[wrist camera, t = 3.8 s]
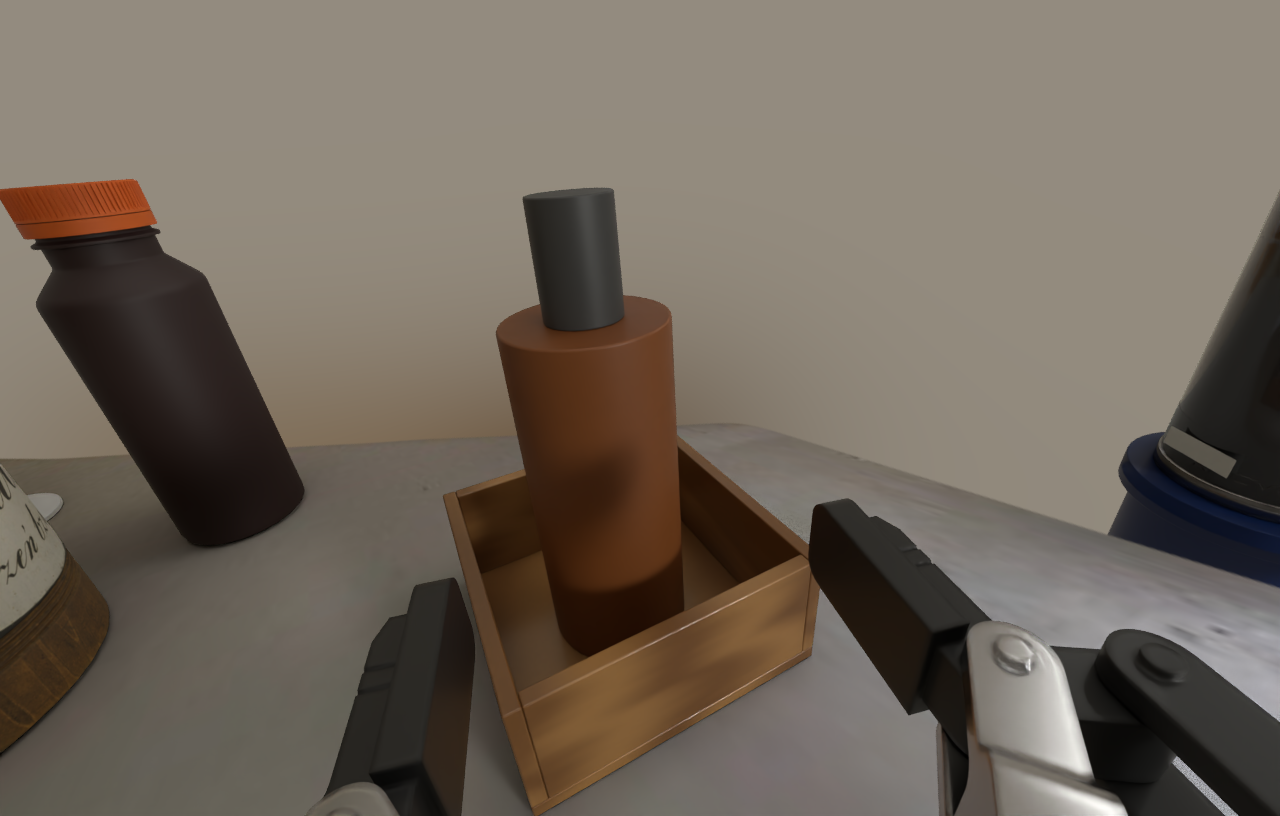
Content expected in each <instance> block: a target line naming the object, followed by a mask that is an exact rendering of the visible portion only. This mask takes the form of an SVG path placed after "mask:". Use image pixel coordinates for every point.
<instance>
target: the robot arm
mask: <svg viewBox="0 0 1280 816" xmlns="http://www.w3.org/2000/svg"><path fill="white" fill-rule="evenodd" d="M1260 232H1261V233H1260V234H1259V236H1258V238H1257V240H1256V242H1255V244H1254V247H1253V249H1252V251H1251V253H1250V255H1249V257H1248V259H1247V262H1246V264H1245V266H1244V268H1243V270H1242V272H1241V274H1240V276H1239V278H1238V281H1237V282H1236V285H1235V287H1234V289H1233V291H1232V293H1231V295H1230V298H1229V299H1228V302H1227V304H1226V306H1225V308H1224V310H1223V312H1222V314H1221V317H1220V319H1219V321H1218V323H1217V325H1216V327H1215V329H1214V331H1213V333H1212V336H1211V337H1210V340H1209V342H1208V344H1207V346H1206V348H1205V350H1204V352H1203V354H1202V357H1201V359H1200V361H1199V363H1198V365H1197V367H1196V369H1195V372H1194V374H1193V376H1192V378H1191V380H1190V382H1189V384H1188V386H1187V388H1186V390H1185V393H1184V395H1183V397H1182V399H1181V401H1180V402H1179V405H1178V407H1177V409H1176V411H1175V413H1174V415H1173V417H1172V419H1171V422H1170V424H1169V426H1168V428H1167V430H1166V432H1165V434H1164V435H1163V436H1162V437H1161V438H1160V440H1159V442H1158V444H1157V446H1156V448H1155V451H1154V453H1153V460H1154V462H1155V464H1156V465H1157V467H1158V468H1159V469H1160V470H1161V471H1162V472H1163V473H1164V474H1165V475H1166V476H1167V477H1169V478H1170V479H1171V480H1173V481H1174V482H1175V483H1177V484H1178V485H1180V486H1182V487H1183V488H1185V489H1187V490H1189V491H1190V492H1192V493H1194V494H1196V495H1198V496H1200V497H1202V498H1204V499H1207V500H1209V501H1211V502H1213V503H1216V504H1218V505H1221V506H1223V507H1226V508H1228V509H1231V510H1234V511H1237V512H1240V513H1243V514H1245V515H1249V516H1252V517H1255V518H1258V519H1262V520H1266V521H1269V522H1273V523H1277V524H1280V191H1279V193H1278V195H1277V197H1276V199H1275V201H1274V203H1273V206H1272V208H1271V210H1270V212H1269V214H1268V216H1267V218H1266V220H1265V222H1264V224H1263V227H1262V229H1261V231H1260ZM808 559H809V565H810V569H811V572H812V574H813V577H814V579H815V580H816V582H817V584H818V585H819V586H820V588H821V589H822V591H823V592H824V594H825V595H826V597H827V598H828V599H829V601H830V602H831V604H832V605H833V607H834V608H835V610H836V611H837V612H838V614H839V615H840V617H841V618H842V620H843V621H844V623H845V624H846V625H847V627H848V628H849V630H850V631H851V633H852V634H853V636H854V637H855V638H856V640H857V641H858V643H859V644H860V646H861V647H862V649H863V650H864V651H865V653H866V654H867V656H868V657H869V659H870V660H871V661H872V663H873V664H874V666H875V667H876V669H877V670H878V672H879V673H880V674H881V676H882V677H883V679H884V680H885V682H886V683H887V685H888V686H889V687H890V689H891V690H892V692H893V693H894V695H895V696H896V698H897V699H898V700H899V702H900V703H901V705H902V706H903V708H904V709H905V711H906V712H907V713H908V715H911V714H915V713H919V712H922V711H926V710H929V709H930V711H931V712H932V714H933V715H934V716H935V718H936V719H937V720H938V724H937V727H936V746H937V772H938V799H939V816H1225V815H1224V814H1223V813H1222V812H1221V811H1220V810H1219V809H1218V808H1217V807H1216V806H1215V805H1214V804H1213V803H1212V802H1211V801H1210V800H1209V799H1208V798H1207V797H1206V796H1205V795H1204V794H1203V793H1202V792H1201V791H1200V790H1199V789H1198V788H1197V787H1196V786H1195V785H1194V784H1192V783H1191V782H1190V781H1189V780H1188V779H1187V778H1186V777H1185V776H1184V775H1183V774H1182V773H1181V772H1180V771H1179V770H1178V769H1177V768H1176V767H1175V766H1174V765H1173V764H1172V762H1173V760H1174V759H1175V758H1176V756H1178V757H1179V758H1180V759H1181V760H1182V761H1183V762H1184V763H1185V764H1186V765H1187V766H1188V767H1189V768H1190V769H1191V770H1192V771H1193V772H1194V773H1195V774H1196V775H1197V776H1198V777H1199V778H1201V779H1202V780H1203V781H1204V782H1205V783H1206V784H1207V785H1208V786H1209V787H1210V788H1211V789H1212V790H1213V791H1214V792H1215V793H1216V794H1217V795H1218V796H1219V797H1220V798H1221V799H1222V800H1223V801H1224V802H1225V803H1226V804H1227V805H1228V806H1229V807H1230V808H1231V809H1232V810H1233V811H1234V812H1235V813H1236V814H1238V815H1239V816H1280V722H1279V721H1278V720H1276V719H1275V718H1274V717H1272V716H1271V715H1270V714H1269V713H1267V712H1266V711H1265V710H1264V709H1262V708H1261V707H1260V706H1259V705H1257V704H1256V703H1255V702H1253V701H1252V700H1251V699H1250V698H1248V697H1247V696H1246V695H1245V694H1243V693H1242V692H1241V691H1240V690H1238V689H1237V688H1236V687H1234V686H1233V685H1232V684H1231V683H1229V682H1228V681H1227V680H1226V679H1224V678H1223V677H1222V676H1221V675H1219V674H1218V673H1217V672H1215V671H1214V670H1213V669H1212V668H1210V667H1209V666H1208V665H1207V664H1205V663H1204V662H1203V661H1202V660H1200V659H1199V658H1198V657H1196V656H1195V655H1194V654H1192V653H1191V652H1190V651H1188V650H1186V649H1185V648H1183V647H1182V646H1180V645H1178V644H1176V643H1174V642H1172V641H1170V640H1168V639H1166V638H1163V637H1161V636H1158V635H1156V634H1153V633H1149V632H1145V631H1141V630H1135V629H1121V630H1117V631H1114V632H1112V633H1111V634H1109V636H1108V637H1107V638H1106V640H1105V642H1104V644H1103V646H1102V648H1101V649H1086V648H1071V647H1056V646H1048V645H1047V644H1046V643H1045V642H1044V641H1043V640H1041V639H1040V638H1039V637H1037V636H1036V635H1034V634H1032V633H1031V632H1029V631H1027V630H1025V629H1023V628H1021V627H1018V626H1016V625H1013V624H1009V623H1005V622H1000V621H992V620H991V619H990V618H989V617H988V616H987V615H986V614H985V613H984V612H983V611H982V610H981V609H980V608H979V607H978V606H977V605H976V604H975V603H974V602H973V601H972V600H971V599H970V598H969V597H968V596H967V595H966V594H965V593H964V592H963V591H962V590H961V589H960V588H958V587H957V586H956V585H955V584H954V583H953V582H952V581H951V580H950V579H949V578H948V577H947V576H946V575H945V574H944V573H943V572H942V571H941V570H940V569H939V568H938V567H937V566H936V565H935V564H932V563H931V560H930V559H929V558H928V557H927V556H926V555H925V554H924V553H923V552H922V551H921V550H920V549H919V550H918V549H917V547H916V545H915V544H914V543H913V542H912V541H911V540H910V539H909V538H908V537H907V536H906V535H905V534H904V533H903V532H902V531H901V530H900V529H898V528H897V527H895V526H893V525H891V524H890V523H888V522H886V521H884V520H882V519H881V518H879V517H877V516H874V517H868V516H867V515H866V514H865V513H864V512H863V511H862V510H861V509H860V507H859V506H858V505H857V504H856V503H855V502H854V501H852V500H851V499H842V500H837V501H832V502H827V503H822V504H818V505H816V506H815V507H814V509H813V515H812V524H811V533H810V542H809V551H808ZM474 663H475V643H474V635H473V629H472V626H471V623H470V619H469V616H468V613H467V610H466V607H465V604H464V601H463V598H462V595H461V592H460V589H459V586H458V583H457V581H456V579H455V578H448V579H443V580H438V581H433V582H428V583H423V584H419V585H416V586H415V587H414V589H413V592H412V596H411V600H410V604H409V608H408V612H407V614H405V615H400V616H395V617H391V618H389V619H388V621H387V622H386V623H385V625H384V626H383V628H382V629H381V630H380V632H379V633H378V634H377V636H376V637H375V639H374V640H373V641H372V643H371V647H370V650H369V653H368V657H367V660H366V663H365V667H364V673H363V674H362V677H361V680H360V683H359V687H358V690H357V691H358V695H357V696H356V697H355V700H354V703H353V707H352V710H351V713H350V717H349V720H348V723H347V727H346V730H345V733H344V737H343V740H342V743H341V747H340V750H339V753H338V757H337V760H336V763H335V767H334V770H333V773H332V777H331V780H330V783H329V786H328V788H327V791H326V793H325V795H324V797H323V798H322V799H321V800H320V801H319V802H317V803H316V804H315V805H314V806H313V807H312V808H311V809H310V810H309V811H308V812H307V813H306V815H305V816H461V812H462V801H463V789H464V778H465V766H466V755H467V743H468V732H469V720H470V709H471V697H472V686H473V674H474Z"/></svg>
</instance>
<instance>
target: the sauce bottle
mask: <svg viewBox="0 0 1280 816" xmlns="http://www.w3.org/2000/svg"><path fill="white" fill-rule="evenodd" d="M523 204H524V210H525V217H526V223H527V228H528V234H529V241H530V246H531V253H532V259H533V265H534V270H535V277H536V283H537V289H538V294H539V301H540V304H539V305H536V306H533V307H530V308H527V309H524V310H522V311H520V312H517V313H515V314H513V315H511V316H509V317H508V318H506V319H505V320H504V321H503V322H501V323H500V325H499V326H498V327H497V331H496V337H497V342H498V347H499V351H500V356H501V360H502V366H503V370H504V374H505V380H506V384H507V389H508V393H509V398H510V403H511V408H512V412H513V417H514V422H515V426H516V431H517V436H518V440H519V445H520V450H521V454H522V459H523V464H524V469H525V473H526V478H527V483H528V487H529V492H530V497H531V501H532V506H533V511H534V515H535V520H536V525H537V529H538V534H539V539H540V543H541V548H542V553H543V557H544V562H545V567H546V571H547V576H548V581H549V585H550V590H551V595H552V600H553V604H554V609H555V614H556V618H557V623H558V626H559V629H560V632H561V633H562V635H563V637H564V638H565V640H566V641H567V642H568V643H569V644H570V645H571V646H572V647H573V648H574V649H576V650H577V651H579V652H580V653H582V654H584V655H586V656H588V657H590V656H592V655H595V654H597V653H599V652H601V651H603V650H605V649H607V648H609V647H611V646H613V645H615V644H617V643H619V642H621V641H623V640H625V639H628V638H630V637H632V636H634V635H636V634H638V633H640V632H642V631H644V630H646V629H648V628H650V627H652V626H654V625H656V624H658V623H660V622H663V621H665V620H667V619H669V618H671V617H673V616H675V615H677V614H679V613H681V612H683V611H684V584H683V561H682V539H681V516H680V494H679V471H678V449H677V426H676V405H675V383H674V359H673V336H672V316H671V312H670V311H669V309H668V308H667V307H666V306H665V305H663V304H661V303H659V302H656V301H654V300H650V299H647V298H641V297H635V296H625V295H623V289H622V278H621V268H620V256H619V245H618V234H617V222H616V212H615V211H616V210H615V199H614V190H613V189H611V188H582V189H569V190H558V191H549V192H543V193H536V194H530V195H527V196H525V197H523Z"/></svg>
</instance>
